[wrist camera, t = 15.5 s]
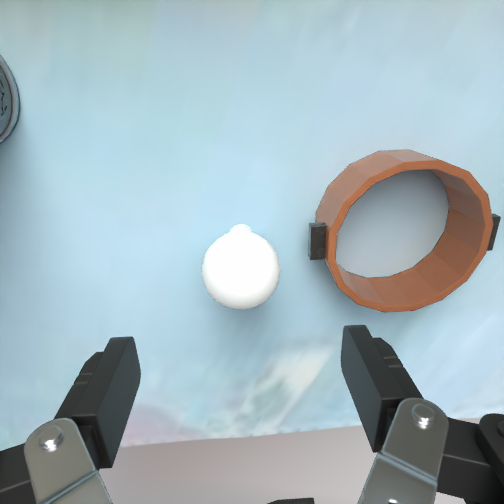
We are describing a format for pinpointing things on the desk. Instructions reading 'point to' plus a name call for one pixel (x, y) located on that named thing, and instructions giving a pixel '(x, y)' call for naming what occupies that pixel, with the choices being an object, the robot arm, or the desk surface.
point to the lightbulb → (240, 269)
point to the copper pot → (434, 264)
